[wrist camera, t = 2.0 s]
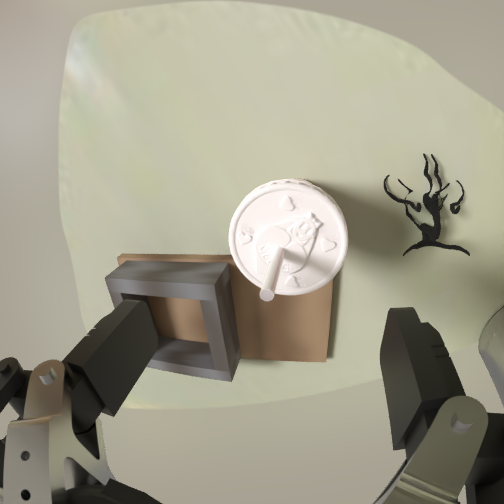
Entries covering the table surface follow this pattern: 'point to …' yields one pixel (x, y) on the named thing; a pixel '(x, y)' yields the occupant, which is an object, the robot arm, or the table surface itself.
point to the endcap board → (219, 314)
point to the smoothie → (288, 237)
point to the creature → (433, 207)
